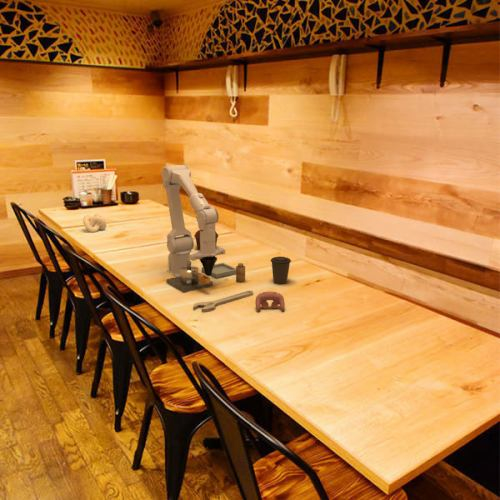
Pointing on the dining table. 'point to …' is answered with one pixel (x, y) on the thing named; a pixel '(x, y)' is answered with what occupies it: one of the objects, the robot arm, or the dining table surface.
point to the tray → (222, 270)
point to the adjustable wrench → (220, 301)
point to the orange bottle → (240, 273)
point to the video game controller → (274, 296)
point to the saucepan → (192, 274)
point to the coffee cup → (280, 269)
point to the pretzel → (94, 223)
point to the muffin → (197, 236)
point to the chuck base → (187, 284)
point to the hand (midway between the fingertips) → (208, 275)
